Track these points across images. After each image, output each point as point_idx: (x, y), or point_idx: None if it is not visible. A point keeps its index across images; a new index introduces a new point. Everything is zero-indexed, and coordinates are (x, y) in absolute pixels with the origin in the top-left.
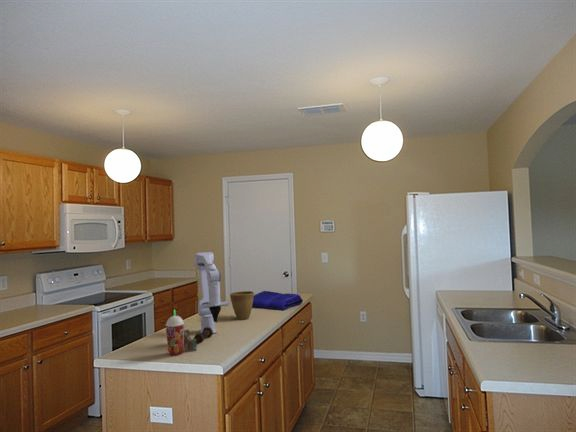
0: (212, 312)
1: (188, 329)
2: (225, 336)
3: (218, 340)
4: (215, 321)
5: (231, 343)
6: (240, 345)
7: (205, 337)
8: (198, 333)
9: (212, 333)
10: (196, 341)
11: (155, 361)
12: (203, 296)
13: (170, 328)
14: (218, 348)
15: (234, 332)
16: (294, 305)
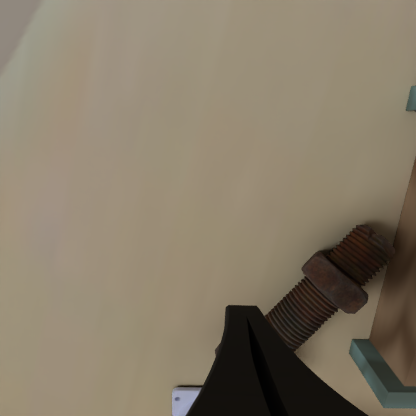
0: (349, 404)
1: (385, 406)
2: (145, 298)
3: (207, 238)
4: (247, 308)
5: (146, 117)
6: (94, 19)
7: (275, 306)
8: (346, 310)
9: (219, 345)
10: (369, 228)
11: None
12: None
13: None
14: (264, 41)
15: (75, 349)
16: None
